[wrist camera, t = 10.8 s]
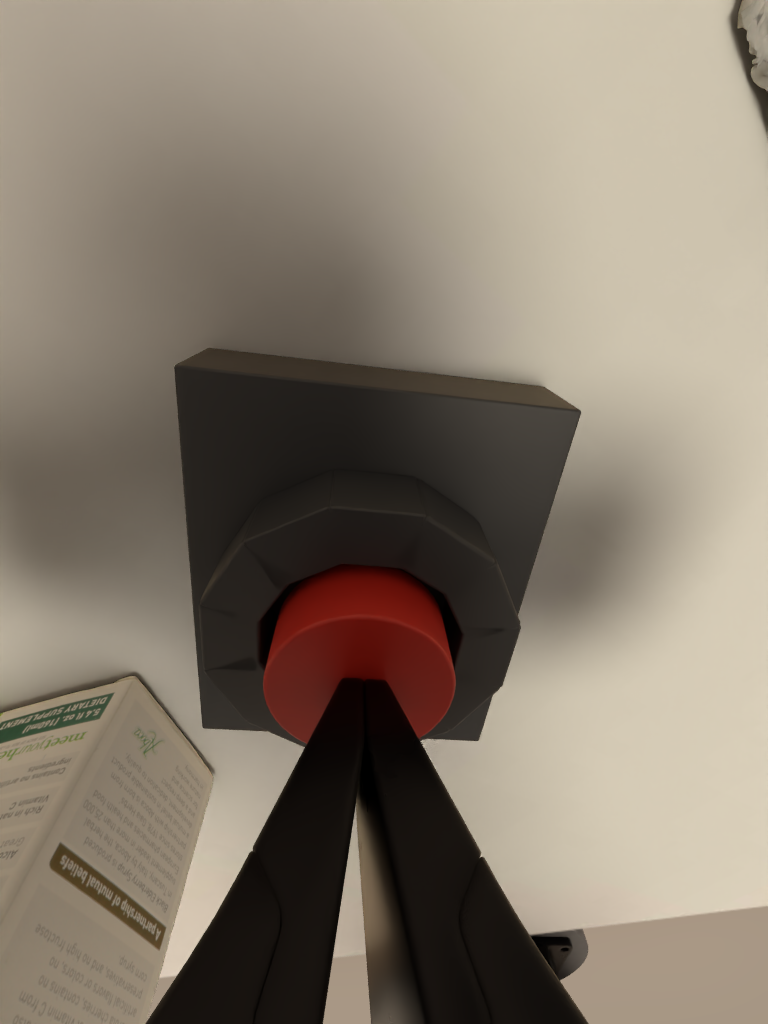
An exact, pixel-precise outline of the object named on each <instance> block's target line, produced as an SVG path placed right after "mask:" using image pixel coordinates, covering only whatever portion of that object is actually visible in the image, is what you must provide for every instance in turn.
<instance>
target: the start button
mask: <svg viewBox="0 0 768 1024" xmlns="http://www.w3.org/2000/svg"><path fill="white" fill-rule="evenodd" d="M342 678H360V679H362V680H363V681H365V680H366V679H380V680H385V681H387V683H388V684H389V686H390V688H391V689H392V691H393V693H394V695H395V697H396V698H397V700H398V702H399V704H400V706H401V708H402V709H403V711H404V713H405V715H406V717H407V718H408V720H409V722H410V724H411V726H412V728H413V729H414V731H415V733H416V735H417V737H418V738H421V737H422V736H424V735H425V734H427V733H428V732H429V731H431V730H432V729H433V728H434V727H435V726H436V725H437V724H438V723H439V722H440V721H441V720H442V718H443V717H444V716H445V714H446V713H447V711H448V709H449V707H450V705H451V702H452V700H453V697H454V692H455V686H456V679H455V672H454V667H453V662H452V658H451V654H450V649H449V645H448V640H447V636H446V632H445V627H444V623H443V618H442V614H441V611H440V608H439V605H438V603H437V601H436V600H435V598H434V596H433V595H432V594H431V592H430V591H429V590H428V589H427V588H426V587H425V586H424V585H423V584H422V583H421V582H420V581H418V580H417V579H415V578H414V577H413V576H411V575H409V574H408V573H406V572H404V571H402V570H399V569H397V568H389V567H376V566H363V565H350V564H340V565H338V566H335V567H333V568H330V569H327V570H325V571H322V572H320V573H317V574H314V575H312V576H309V577H307V578H306V579H304V580H303V581H302V582H301V583H299V584H298V585H297V586H296V587H295V588H294V589H293V590H292V591H291V592H290V593H289V595H288V596H287V598H286V599H285V601H284V603H283V605H282V607H281V609H280V612H279V615H278V619H277V623H276V627H275V631H274V636H273V640H272V644H271V648H270V652H269V656H268V660H267V664H266V668H265V672H264V678H263V691H264V696H265V700H266V704H267V706H268V708H269V710H270V712H271V714H272V716H273V717H274V719H275V720H276V721H277V722H278V723H279V725H280V726H281V727H282V728H283V729H285V730H286V731H287V732H288V733H289V734H291V735H292V736H294V737H295V738H297V739H298V740H300V741H302V742H304V743H306V744H307V743H308V741H309V739H310V737H311V735H312V733H313V731H314V730H315V728H316V726H317V724H318V722H319V720H320V718H321V716H322V714H323V712H324V710H325V709H326V707H327V705H328V703H329V701H330V699H331V697H332V695H333V693H334V691H335V690H336V688H337V686H338V684H339V682H340V680H341V679H342Z"/></svg>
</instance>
